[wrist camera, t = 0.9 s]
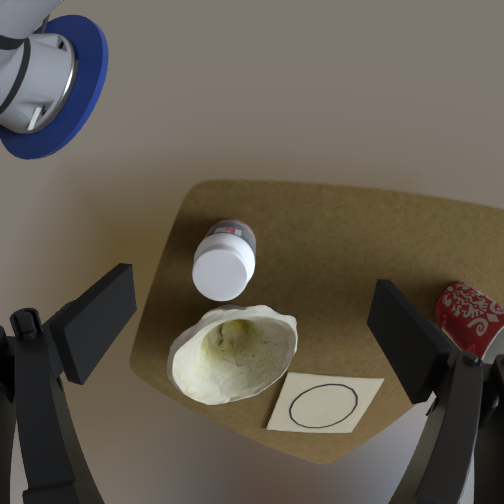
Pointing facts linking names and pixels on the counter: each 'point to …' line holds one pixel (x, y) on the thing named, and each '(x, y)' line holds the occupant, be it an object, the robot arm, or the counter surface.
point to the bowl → (232, 353)
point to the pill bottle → (224, 260)
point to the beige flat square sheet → (322, 403)
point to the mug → (472, 320)
